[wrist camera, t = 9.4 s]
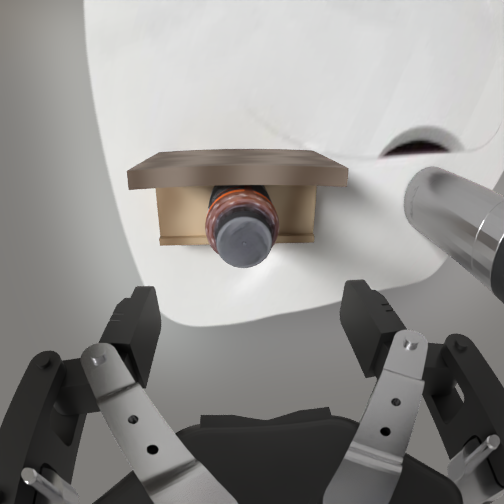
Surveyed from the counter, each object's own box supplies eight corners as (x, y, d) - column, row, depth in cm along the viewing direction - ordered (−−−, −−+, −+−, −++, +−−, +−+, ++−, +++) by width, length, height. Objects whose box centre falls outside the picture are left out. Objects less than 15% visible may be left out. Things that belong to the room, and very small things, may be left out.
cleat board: (312, 150, 32) (348, 168, 22) (307, 231, 36) (334, 278, 26) (158, 152, 31) (126, 170, 21) (165, 234, 35) (142, 282, 25)
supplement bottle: (199, 205, 31) (184, 252, 21) (232, 159, 29) (233, 184, 19) (245, 235, 33) (252, 293, 23) (278, 192, 31) (302, 233, 21)
